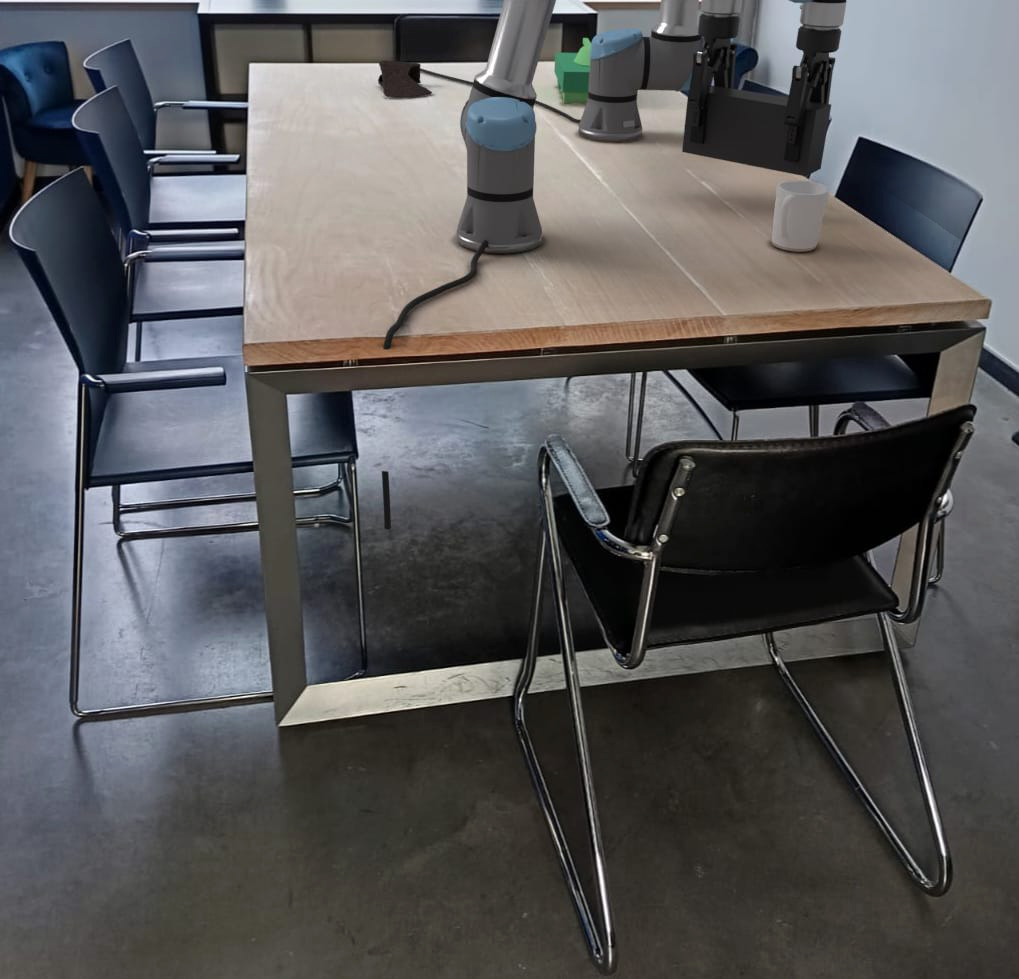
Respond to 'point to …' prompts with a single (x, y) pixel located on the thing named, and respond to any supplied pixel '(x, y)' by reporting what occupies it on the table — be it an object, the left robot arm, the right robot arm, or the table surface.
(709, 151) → the box
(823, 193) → the mug
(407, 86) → the axe head
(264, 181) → the table surface
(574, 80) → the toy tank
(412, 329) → the table surface
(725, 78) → the right robot arm
